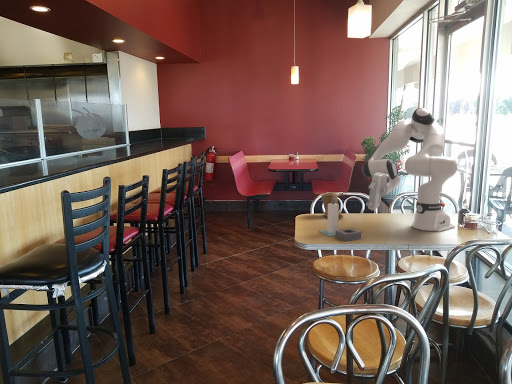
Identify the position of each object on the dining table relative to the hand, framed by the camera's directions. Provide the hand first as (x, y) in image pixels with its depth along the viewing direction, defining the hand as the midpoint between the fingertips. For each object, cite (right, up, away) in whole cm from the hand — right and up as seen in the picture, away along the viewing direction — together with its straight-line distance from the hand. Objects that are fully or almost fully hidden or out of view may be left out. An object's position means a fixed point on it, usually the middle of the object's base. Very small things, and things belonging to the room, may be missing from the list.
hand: (368, 196), depth 209 cm
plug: (-17, -19, +5) cm, 26 cm away
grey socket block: (-11, -21, -4) cm, 24 cm away
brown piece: (-11, -13, +41) cm, 45 cm away
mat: (-17, -19, +5) cm, 27 cm away
